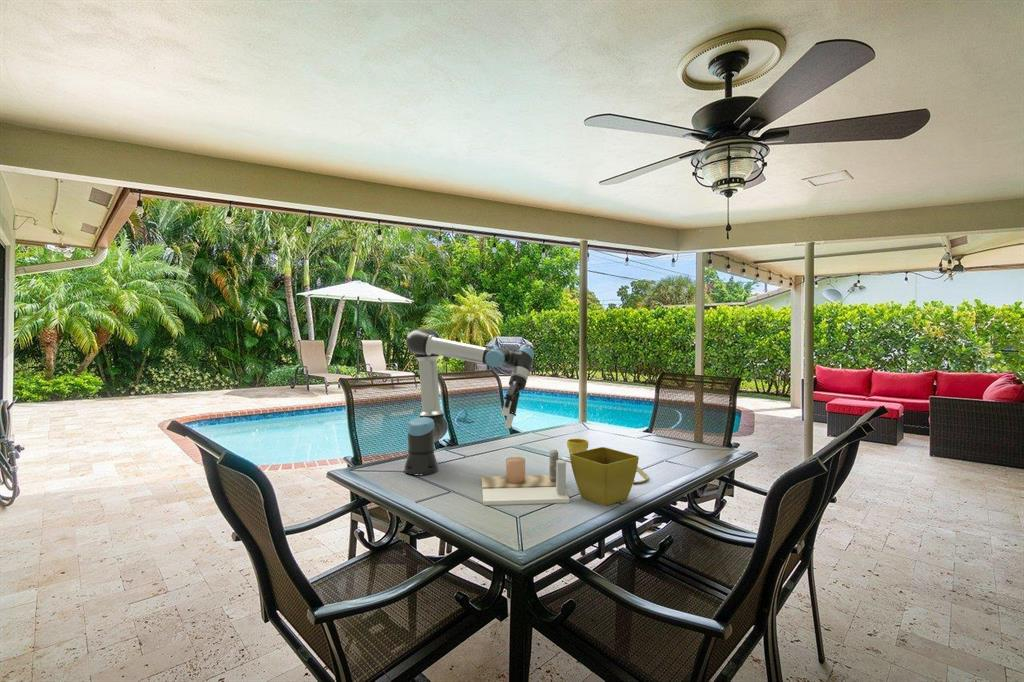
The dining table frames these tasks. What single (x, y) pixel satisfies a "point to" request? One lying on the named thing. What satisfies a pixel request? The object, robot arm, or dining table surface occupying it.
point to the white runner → (530, 492)
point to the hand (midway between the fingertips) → (505, 421)
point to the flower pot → (604, 474)
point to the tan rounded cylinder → (515, 470)
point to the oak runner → (529, 480)
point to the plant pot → (577, 445)
